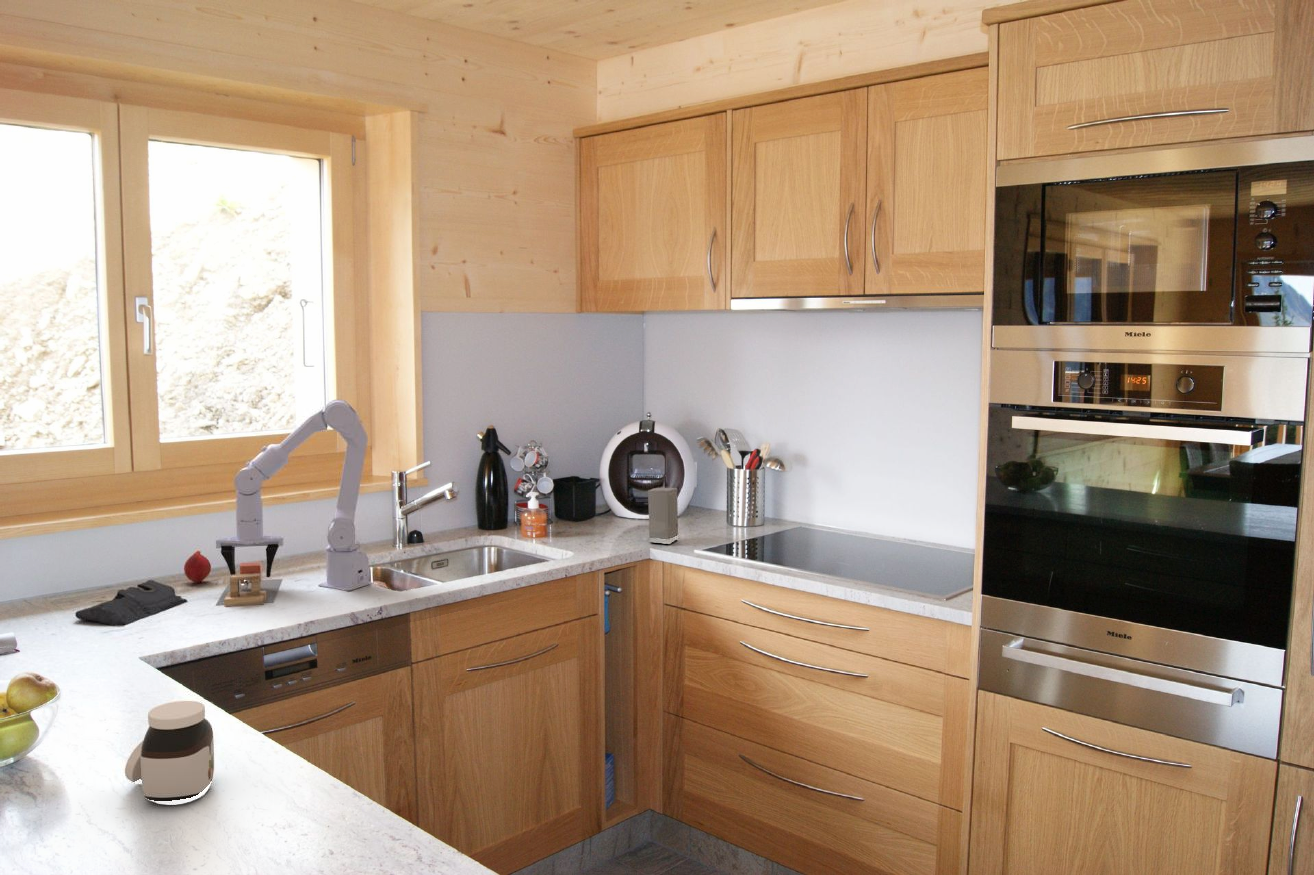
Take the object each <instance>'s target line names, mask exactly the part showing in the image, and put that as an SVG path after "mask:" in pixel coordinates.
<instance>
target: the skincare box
mask: <svg viewBox="0 0 1314 875" xmlns="http://www.w3.org/2000/svg"><path fill="white" fill-rule="evenodd" d="M647 496H648V498H647V499H648V500H647V501H648V502H647V503H648V536H649V537H648V539H649V538H660V539H670V538H673V537H675V536H677V535H678V536H679V516H678V514H679V511H678V509H679V508H678V488H677V487H655V488H652V489H648V490H647Z"/></svg>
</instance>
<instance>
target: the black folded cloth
mask: <svg viewBox="0 0 1314 875" xmlns="http://www.w3.org/2000/svg"><path fill="white" fill-rule="evenodd" d="M185 603H188V600H187V599H186V598H184V597H182V596H181V595H177V594H176V592H175V588H174V587H173V586H170V585H167V584H165V583H164V584H163V583H161V582H157V581H155V580H153V579H151V580H150V579H149V580H147V581H144V582H141V583H139V584H137V587H135V586H129V587H128V588H126V589H120V590H117V594H116V595H115V596H114V598H113V599H112V600H107V601H104V602H100V603H98V604H96V605H93V606H91V607H86V608H83V609H79V610H77V611H76V612H75V614H74V616H75V617H76V618H77V619H79V620H81V621H82V620H83V621H88V622H89V621H90V622H98V623H101V624H106V625H110V626H114V625H124V626H127V625H130V624H133V623H136V622H137V621H140V620H142V619H146V618H148V617H151V616H154V615H157V614H160V613H162V612H165V611H167V610H170V609H172V608H175V607H177V606H180V605H184V604H185Z"/></svg>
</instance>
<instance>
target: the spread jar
mask: <svg viewBox="0 0 1314 875" xmlns="http://www.w3.org/2000/svg"><path fill="white" fill-rule="evenodd" d="M205 708H206V707H205V704H203V702H200V701H195V700H179V701H178V700H176V701H170V702H166V703H163V704H160V705H158V706H155V707H153V708H151V710H149V711H148V713H147V719H148V720H147V721H148V726H149V727H148V728H147V730H146V732H145V735H144V738H143V740H142V741H141V742H140V743H139V744H138V745H136V747H135V748H134V749H133V751H132V752H131V753H130V755H129V757H128V758H127V761H126V764H125V767H124V775H125V777H126V779H127V780H129V781H130V782H131V783H133V782H135V781H137V780H139V779H141V780H142V785H141V790H142V794H143V797H144V799H146V798H147V799H149V800H154V801H172V800H180V799H186V798H191V797H193V796H196V795H198V794H199V793H200V792H202V791H203V790H204V789H205V788H206V787H207V786H208V785H209V784H210V782H211V781H212V782H213V777H214V771H215V745H214V742H215V740H214V731H213V726H212V724H211V723H210V722H209V720H208V719H207V718H206V709H205ZM147 799H146V800H147Z"/></svg>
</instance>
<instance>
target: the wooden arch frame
mask: <svg viewBox="0 0 1314 875" xmlns="http://www.w3.org/2000/svg"><path fill="white" fill-rule="evenodd" d="M240 580H251V592H239V581H240ZM229 582H230V593H228V594H227V596H226V597H225V599H224V605H223V606H224V607H236V606H238V607H239V606H252V605H253V606H257V605H264V604H265V603H264V601H265V599H266V591H260V573H258V574H240V573H238V574H237V573H236V575H231V574H230V576H229Z"/></svg>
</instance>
